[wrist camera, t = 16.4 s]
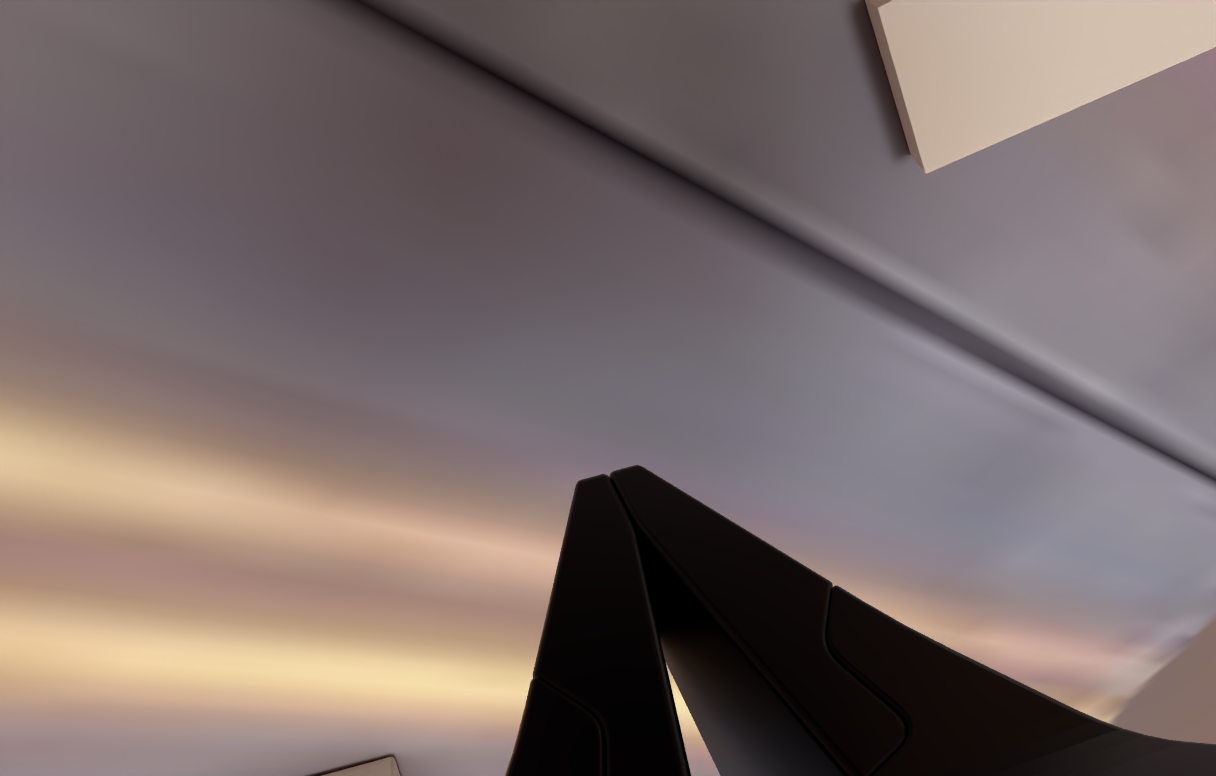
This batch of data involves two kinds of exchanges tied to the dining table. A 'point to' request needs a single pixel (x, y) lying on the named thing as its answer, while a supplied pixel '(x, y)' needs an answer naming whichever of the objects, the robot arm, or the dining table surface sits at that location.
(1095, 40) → the domino
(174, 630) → the dining table surface
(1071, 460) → the dining table surface
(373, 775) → the small box
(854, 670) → the robot arm
